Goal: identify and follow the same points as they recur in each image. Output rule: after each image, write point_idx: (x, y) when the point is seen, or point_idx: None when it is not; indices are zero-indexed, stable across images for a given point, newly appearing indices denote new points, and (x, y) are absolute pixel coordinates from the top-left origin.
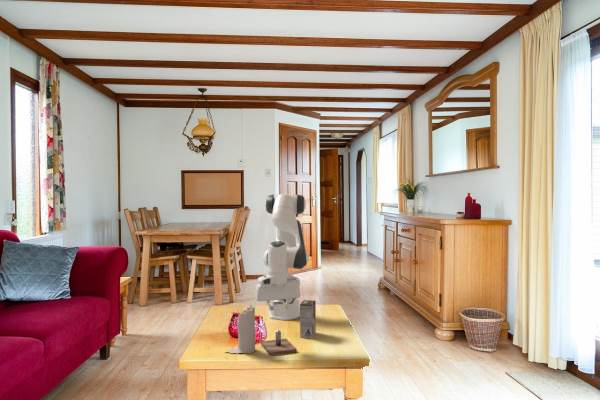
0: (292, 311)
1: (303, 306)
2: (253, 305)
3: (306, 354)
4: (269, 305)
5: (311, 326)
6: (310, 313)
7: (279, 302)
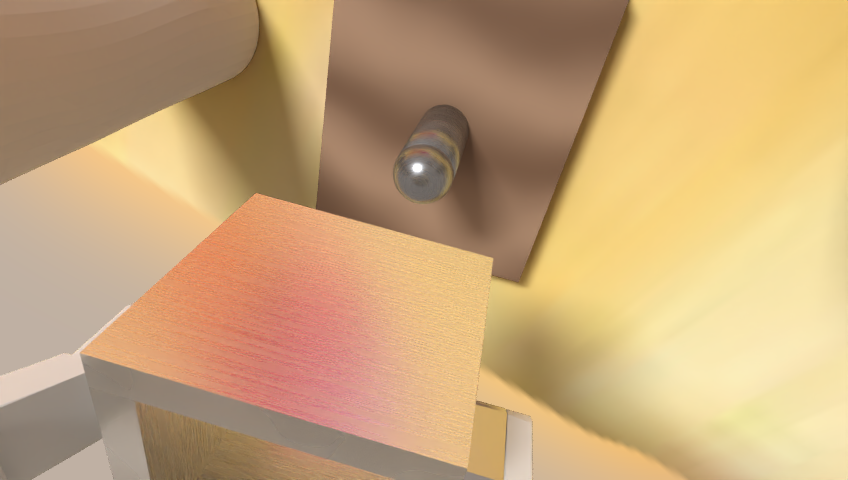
0: None
1: None
2: None
3: (550, 327)
4: (62, 444)
5: None
6: None
7: (361, 444)
